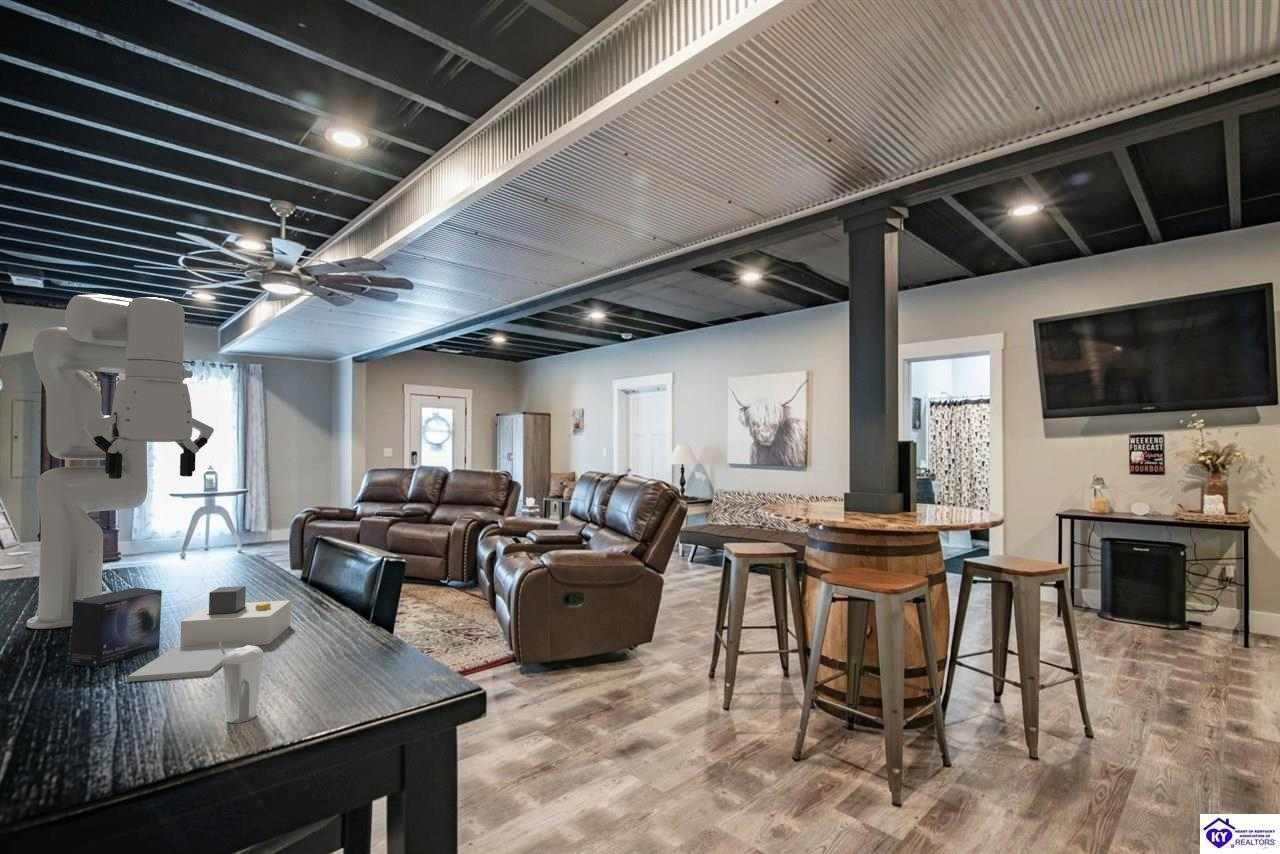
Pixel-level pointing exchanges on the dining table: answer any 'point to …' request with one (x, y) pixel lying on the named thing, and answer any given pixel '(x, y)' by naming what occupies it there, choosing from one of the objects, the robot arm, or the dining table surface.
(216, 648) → the lockout pad
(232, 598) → the button
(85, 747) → the dining table surface
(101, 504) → the robot arm
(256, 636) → the switch panel
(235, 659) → the milkshake
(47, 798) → the dining table surface
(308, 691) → the dining table surface
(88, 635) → the small box
